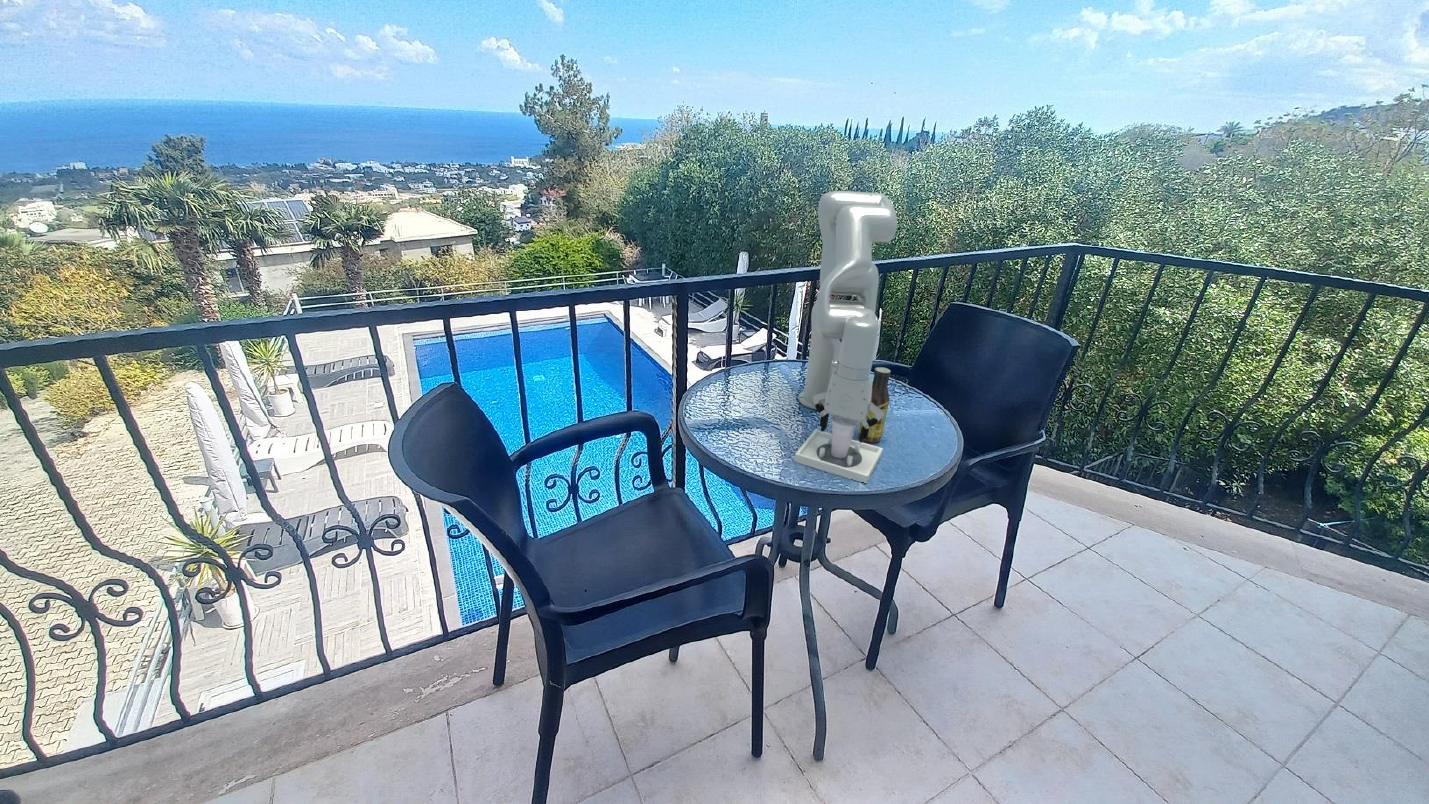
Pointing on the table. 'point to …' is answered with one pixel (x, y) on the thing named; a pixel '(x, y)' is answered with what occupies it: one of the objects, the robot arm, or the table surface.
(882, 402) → the sauce bottle
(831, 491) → the table surface
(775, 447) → the table surface
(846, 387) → the robot arm
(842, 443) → the smoothie
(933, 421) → the table surface
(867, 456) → the pin tray
